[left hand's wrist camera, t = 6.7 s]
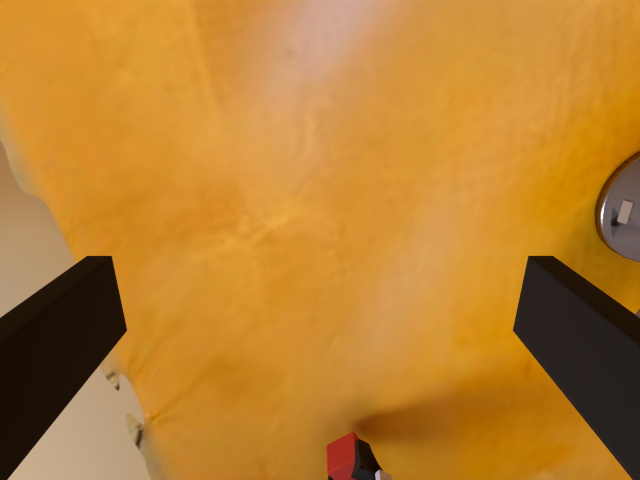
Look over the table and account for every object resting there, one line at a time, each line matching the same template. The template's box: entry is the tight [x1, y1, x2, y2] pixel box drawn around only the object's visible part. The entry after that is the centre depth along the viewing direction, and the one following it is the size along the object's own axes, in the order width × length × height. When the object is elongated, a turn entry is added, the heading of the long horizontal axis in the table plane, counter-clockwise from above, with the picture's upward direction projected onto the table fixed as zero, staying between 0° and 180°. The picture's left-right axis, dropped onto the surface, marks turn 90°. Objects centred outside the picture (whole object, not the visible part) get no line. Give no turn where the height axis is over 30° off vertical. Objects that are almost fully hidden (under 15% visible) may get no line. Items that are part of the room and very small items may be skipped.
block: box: [327, 432, 359, 480], centre depth 59 cm, size 5×5×5 cm
